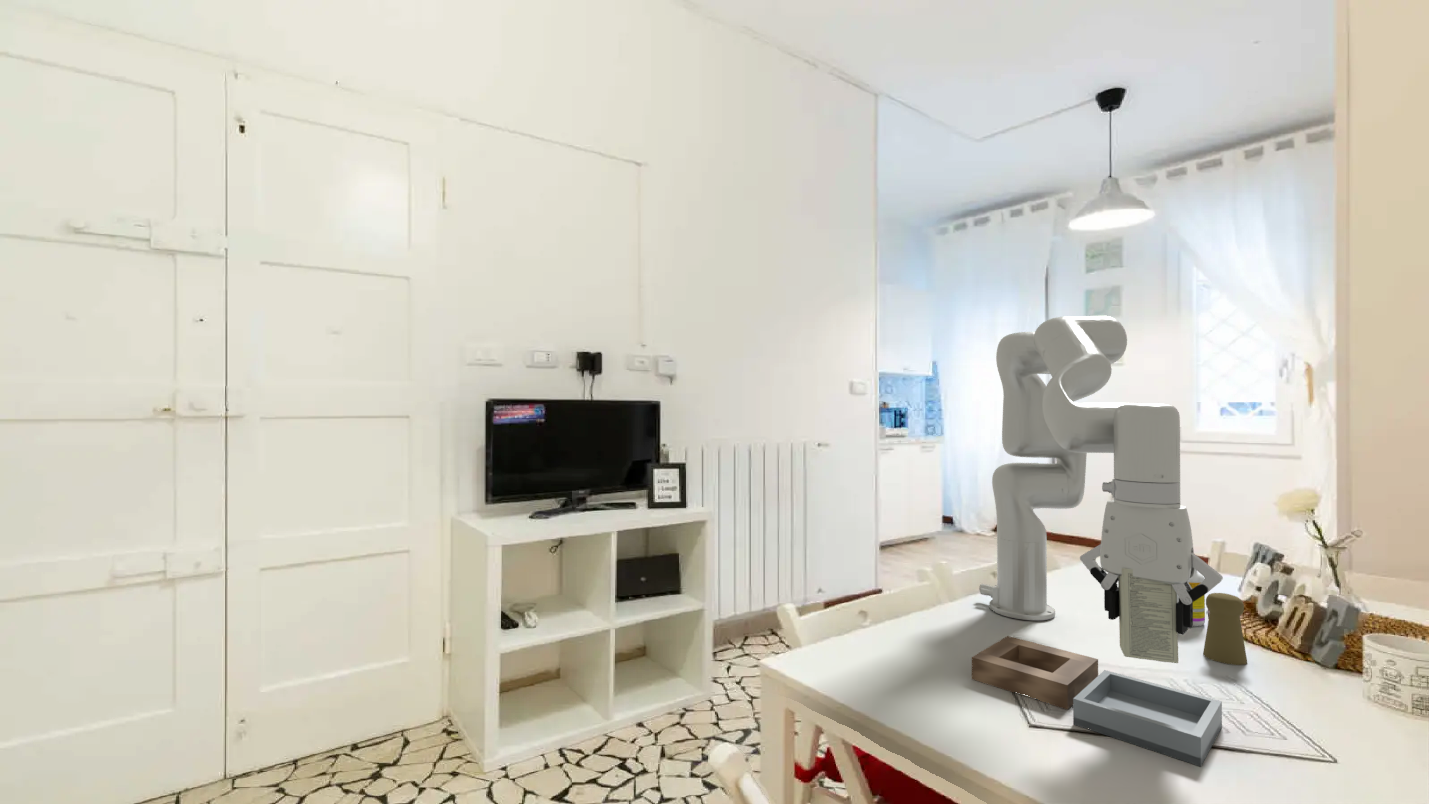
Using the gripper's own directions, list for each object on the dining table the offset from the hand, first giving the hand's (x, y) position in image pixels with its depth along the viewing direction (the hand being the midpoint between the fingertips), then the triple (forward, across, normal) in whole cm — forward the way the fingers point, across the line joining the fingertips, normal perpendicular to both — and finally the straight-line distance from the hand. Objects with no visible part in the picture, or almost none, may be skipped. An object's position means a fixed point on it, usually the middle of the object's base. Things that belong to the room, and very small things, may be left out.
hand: (1147, 623), depth 86 cm
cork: (+14, +3, +38) cm, 41 cm away
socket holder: (+14, -16, +4) cm, 22 cm away
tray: (+14, 0, 0) cm, 14 cm away
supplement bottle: (+14, -6, +56) cm, 58 cm away
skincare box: (+4, 0, 0) cm, 4 cm away
